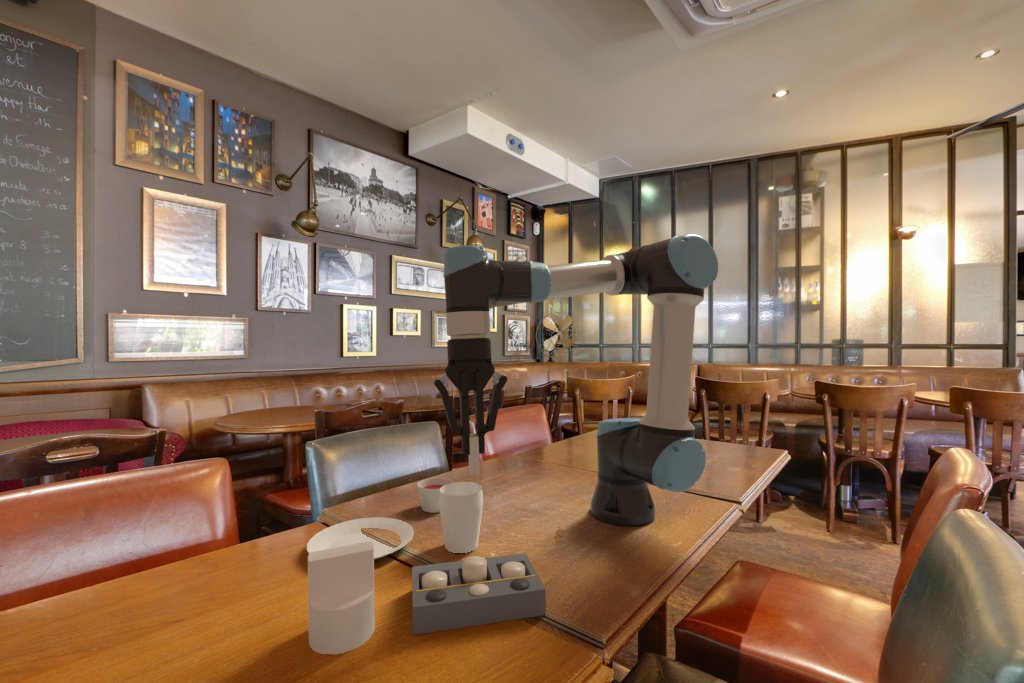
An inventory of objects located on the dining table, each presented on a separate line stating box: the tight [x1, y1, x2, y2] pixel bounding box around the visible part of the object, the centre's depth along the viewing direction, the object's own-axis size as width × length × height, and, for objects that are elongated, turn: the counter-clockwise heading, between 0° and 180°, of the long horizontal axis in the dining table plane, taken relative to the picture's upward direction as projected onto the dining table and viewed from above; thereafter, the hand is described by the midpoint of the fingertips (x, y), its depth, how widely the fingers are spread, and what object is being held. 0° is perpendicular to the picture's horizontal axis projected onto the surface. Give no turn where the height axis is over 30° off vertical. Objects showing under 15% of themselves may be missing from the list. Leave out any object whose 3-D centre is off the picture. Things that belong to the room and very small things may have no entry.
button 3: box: [422, 571, 447, 589], centre depth 72 cm, size 4×4×4 cm
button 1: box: [501, 562, 525, 579], centre depth 75 cm, size 4×4×4 cm
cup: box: [439, 481, 484, 554], centre depth 92 cm, size 9×9×12 cm
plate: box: [306, 516, 415, 561], centre depth 93 cm, size 21×21×2 cm
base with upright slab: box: [307, 541, 376, 655], centre depth 65 cm, size 9×9×12 cm
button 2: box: [462, 555, 487, 584], centre depth 74 cm, size 4×4×4 cm
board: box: [411, 552, 547, 636], centre depth 73 cm, size 20×12×4 cm, turn 103°
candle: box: [416, 477, 454, 514], centre depth 114 cm, size 9×9×6 cm
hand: (474, 472), depth 78 cm, fingers closed
